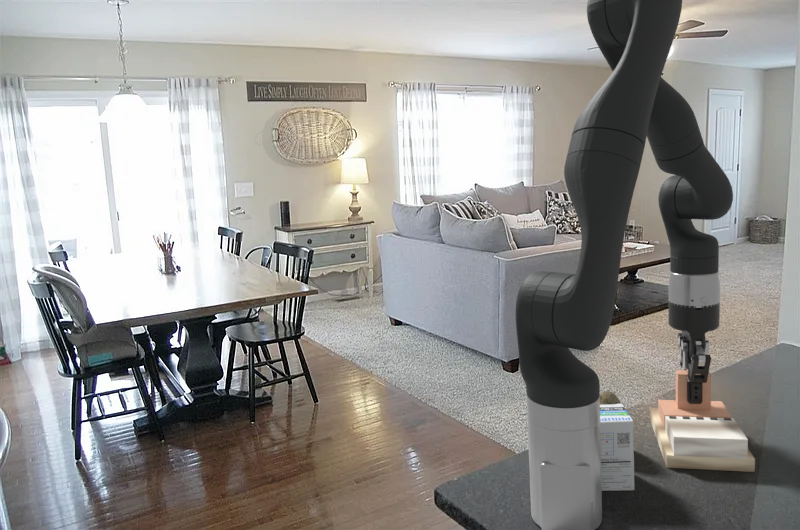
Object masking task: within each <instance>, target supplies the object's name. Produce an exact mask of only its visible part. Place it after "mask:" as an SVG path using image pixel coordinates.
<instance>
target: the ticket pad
mask: <svg viewBox="0 0 800 530" xmlns="http://www.w3.org/2000/svg"><path fill="white" fill-rule="evenodd" d="M649 421H650V424H651V427H652V429H653V432H654V434H655V438H656V440H657V444H658V446H659V449H660V453H661V455H662V458H663V461H664V463H665V467H666V468H669V469H670V468H671V469H689V470H706V471H709V470H710V471H727V472H728V471H730V472H747V473H748V472H749V473H750V472H751V473H755V471H756V470H755V469H756V458H755V457H754V455H753V454H752V452H751V450H750V449H749V447H748V446H749V444H748V443H749V439H748V438H747V436H746V435H745V433H744V431H743V430H742V429H741V427H740V425H739V424H738V423H737V421H736V419H734V418H733V417H732V418H711V417H678V416H665V429H664V426H663V424H662V421H661V419H660V416H659V414H658V407H649Z"/></svg>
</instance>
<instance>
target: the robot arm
mask: <svg viewBox="0 0 800 530" xmlns="http://www.w3.org/2000/svg"><path fill="white" fill-rule="evenodd" d="M586 4H587V5H586V16H587V22H588V25H589V29H590V32H591V35H592V37H593V39H594V41H595V43H596V46H598V49H599V51H600V52H601V54H602V55H603V57H604V59H605V60H606V62H607V64H608V66H609V67H610V69H611V71H612V72H611V74H610V75H609V76H608V78H607V79H606V81H604V83H603V84H602V85H601V87H599V89H598V90H597V91H596V92H595V94H594V95H593V96H592V98H591V99H590V101H588V103H587V104H586V106H585V107H584V109H582V112H581V113H580V114H579V116H578V118H577V120H576V122H575V124H574V126H573V130H572V133H571V138H570V141H569V146H568V150H567V153H566V158H565V163H564V169H563V170H564V171H563V174H564V182H565V186H566V189H567V192H568V195H569V197H570V201H571V203H572V206H573V208H574V210H575V214H576V217H577V219H578V223H579V226H580V233H581V244H580V245H581V246H580V254H579V260H578V264H577V268H576V272H575V274H574V273H568V272H567V273H565V272H558V271H557V272H556V271H548V270H545V271H544V270H542V271H541V270H540V271H534V272H532V273H530V274H529V275H527V276H526V277H525V279H524V280H522V282H521V284H520V286H519V289H518V292H517V296H516V302H515V329H516V339H517V341H516V342H517V348H518V359H519V361H518V362H519V368H520V370H519V371H520V373H521V376H522V379H523V381H524V384H525V389H526V390H525V391H526V393H525V394H526V415H527V416H526V419H527V420H526V421H527V441H528V442H527V444H528V464H529V465H528V466H529V467H528V470H529V491H530V515H531V518H532V520H533V521H534V522H535V524H536V525H537V526H538V527H540V528H541V530H596V529H598V528H599V526H600V525H601V524H602V522H603V506H602V504H603V503H602V502H603V500H602V497H603V495H602V491H601V446H600V394H601V393H600V392H601V391H600V388H601V387H600V385H601V384H600V379H599V376H598V374H597V373H596V372H595V370H594V369H592V367H590V366H589V365H588V364H586V363H584V362H583V361H581V360H580V359H579V358H578V357H576V355H575V354H574V353H573V352H572V351H571V349H572V350H579V351H582V352H590V351H594V350H596V349H597V348H598V347H599V346H601V345H602V343H603V342H604V340H605V339H606V336H607V335H608V332H609V330H610V328H611V324H612V321H613V320H612V319H613V316H614V311H615V305H616V298H617V289H618V283H619V282H618V281H619V275H620V270H621V268H620V266H621V260H622V259H621V258H622V253H623V246H624V239H625V233H626V228H627V224H628V218H629V213H630V207H631V204H632V200H633V196H634V191H635V189H636V188H635V187H636V185H637V184H636V183H637V180H638V177H639V173H640V169H641V164H642V160H643V155H644V150H645V146H646V141H648V143H649V146H650V149H651V152H652V154H653V157H654V160H655V163H656V165H657V166H658V168H659V169H660V171H662V172H664V173H667V174H669V175H671V176H669V177H667V178H666V179H665V180H664V181H663V183H662V184H661V187H660V188H659V192H658V197H657V198H658V201H657V202H658V208H659V211H660V216H661V219H662V222H663V226H664V229H665V233H666V236H667V240H668V243H669V251H670V254H669V257H670V260H669V261H670V262H669V263H670V265H669V267H670V270H669V271H670V272H669V279H668V280H669V281H668V318H667V319H668V320H667V321H668V325H669V326H670V328H672V329H674V330H677V331H679V332H680V331H681V332H680V333H679V332H678V333H677V340H678V351H679V366H680V368H682V369H681V370H687V377H686V380H687V401H688V403H690V404H701V403H702V388H703V383H707V378H708V373H709V372H710V371H709V370H710V367H711V361H712V357H711V354H708V352H709V351H710V342H709V341H710V340H708V339H707V338H706V334H707V333H708V332H713V331H717V329H719V327H720V321H721V320H720V315H721V314H720V312H721V311H720V309H721V305H720V304H721V284H720V283H721V281H720V276H719V270H720V269H719V264H720V262H719V261H720V260H719V259H720V258H719V257H720V256H719V251H720V250H719V249H720V246H719V241H718V238H716V236H714V235H711V234H709V233H705V232H702V231H700V230H697V228H696V227H695V225H694V223H693V220H701V221H703V220H705V221H706V220H707V221H708V220H709V221H710V220H711V221H713V220H718V219H721V218H723V217H724V216H725V215H727V214H728V212H729V211H730V209H731V208H732V205H733V201H734V200H733V199H734V192H733V187H732V185H731V181H730V179H729V178H728V176H727V174H726V172H725V171H724V170H723V169H722V168H721V166H720V164H719V163H718V162H717V161H716V159H715V158H714V157H713V155H712V153H711V152H710V151H709V150H708V149H707V147H706V145H705V142H704V139H703V137H702V133H701V130H700V126H699V124H698V120H697V118H696V115H695V113H694V110H693V108H692V107H691V105H690V104H689V102H688V101H687V100H686V99H685V97H683V95H682V94H681V93H680V92H678V91H677V89H676V88H674V87H673V86H672V85H671V84H669V83H668V82H667V81H666V79H664V78H663V77H662V75H663V71H664V69H665V65H666V62H667V60H668V57H669V54H670V51H671V48H672V46H673V41H674V39H675V36H676V34H677V30H678V26H679V23H680V19H681V14H682V7H683V0H587V3H586ZM706 339H707V340H706ZM695 374H700V375H695Z"/></svg>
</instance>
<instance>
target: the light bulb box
mask: <svg viewBox="0 0 800 530" xmlns="http://www.w3.org/2000/svg"><path fill="white" fill-rule="evenodd" d="M634 438H635V437H634V420H633V418H632V417H631V415H630V414H629V413H628V411H627V410H626V409H625V406H624V405H623V403H621V404H603V405H600V446H601V492H605V491H607V492H611V491H613V492H615V491H617V492H618V491H619V492H620V491H635V453H634V452H635V447H634V446H635V443H634Z"/></svg>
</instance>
